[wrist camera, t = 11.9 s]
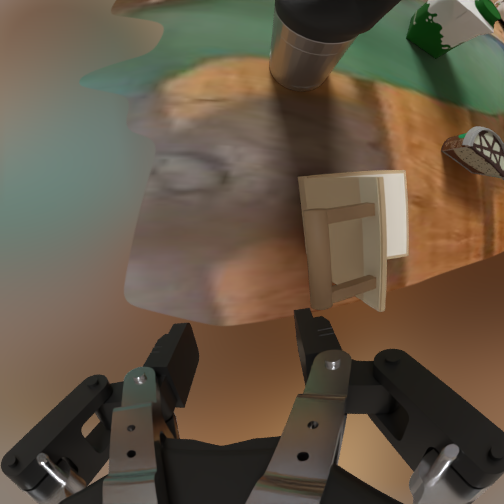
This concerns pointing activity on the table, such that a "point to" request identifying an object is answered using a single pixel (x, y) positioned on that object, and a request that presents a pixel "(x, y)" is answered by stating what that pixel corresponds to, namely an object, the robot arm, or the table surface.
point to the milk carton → (450, 24)
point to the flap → (346, 240)
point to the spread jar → (500, 9)
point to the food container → (477, 151)
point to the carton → (393, 200)
